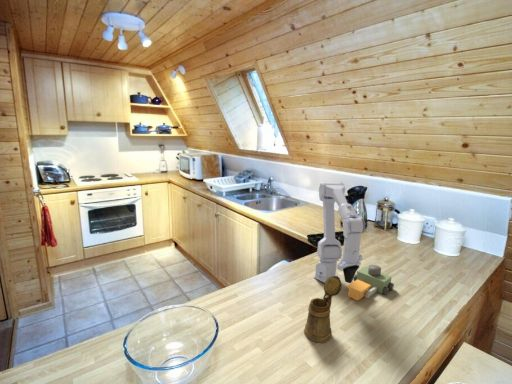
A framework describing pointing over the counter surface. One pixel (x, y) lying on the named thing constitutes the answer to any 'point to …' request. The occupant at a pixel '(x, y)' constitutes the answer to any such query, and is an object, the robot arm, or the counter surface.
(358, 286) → the orange slab
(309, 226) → the counter surface
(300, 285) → the counter surface
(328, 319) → the wooden mug
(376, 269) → the mower housing
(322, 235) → the egg carton
